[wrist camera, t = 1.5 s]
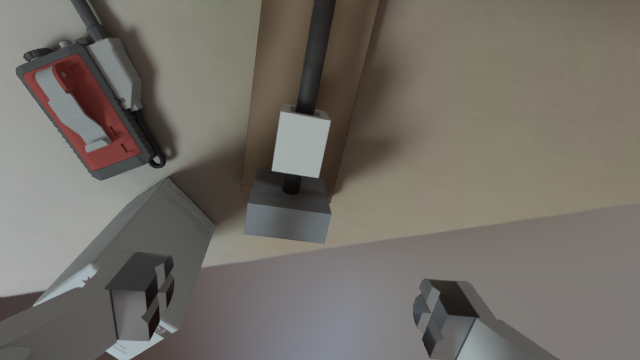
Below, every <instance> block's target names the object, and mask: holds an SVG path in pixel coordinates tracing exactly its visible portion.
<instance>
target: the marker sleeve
mask: <svg viewBox="0 0 640 360" xmlns="http://www.w3.org/2000/svg"><path fill="white" fill-rule="evenodd" d="M295 111H296V105H291V104H285V103H282V107H281V112H280V118H279V125H278V132H277V138H276V145H275V151H274V158H273V165H272V171H276V172H282V173H289V174H295V175H302V176H308V177H314V178H319V173H320V169H321V164H322V160H323V155H324V150H325V146H326V141H327V137H328V132H329V127H330V123H331V120H330V118H329V116H328V114H327V112H326V111H322V110H317V109H315V113H314V116H312V115H307V114H302V113H296V112H295Z"/></svg>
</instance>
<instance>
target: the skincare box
mask: <svg viewBox="0 0 640 360" xmlns="http://www.w3.org/2000/svg"><path fill="white" fill-rule="evenodd" d="M214 229H215V225H214V224H213V223H212V222H211V221H210V220H209V219H208V218H207V216H206V215H205V214H204V213H203V212H202V211H201V210H200V209H199V208H198V207H197V206H196V205H195V204H194V203H193V202H192V201H191V200H190V199H189V198H188V197H187V196H186V195H185V194H184V193H183V192H182V191H181V190H180V189H179V188H178V187H177V186H176V185H175V184H174V183H173V182H172V181H171V180H170V179H169V178H168V177H167V178H165V179H163V180H162V181H160V182H159V183H157V184H156V185H154V186H153V187H151V188H150V189H149V190H147V191H146V192H144V193H143V194H141V195H140V196H138V197H137V198H135V199H134V200H132V201H131V202H129V203H128V204H127V205H126V206H125V207H124V208H123V209H122V210H121V211H120V212H119V213H118V215H117V216H116V217H115V218H114V219H113V220H112V221H111V222H110V223H109V224H108V225H107V226H106V227H105V228H104V230H103V231H102V232H101V233H100V234H99V235H98V236H97V237H96V238H95V239H94V240H93V241H92V242H91V243H90V244H89V245H88V247H87V248H86V249H85V250H84V251H83V252H82V253H81V254H80V255H79V256H78V257H77V258H76V259H75V260H74V261H73V262H72V264H71V265H70V266H69V267H68V268H67V269H66V270H65V271H64V272H63V273H62V274H61V275H60V276H59V277H58V278H57V280H56V281H55V282H54V283H53V284H52V285H51V286H50V287H49V288H48V289H47V290H46V291H45V292H44V294H43V295H42V296H41V297H40V298H39V299H38V300H37V301H36V302H35V303H34V305H33V307H34V306H36V305H38V304H40V303H43V302H45V301H47V300H49V299H51V298H54V297H56V296H58V295H60V294H62V293H65V292H67V291H69V290H71V289H73V288H76V287H83V286H84V285H85V284H86V283H87V282H88V281H89V280H90V279H91V278H92V277H93V276H94V275H95V273H96V272H97V271H98V270H99V269H100V268H101V267H102V266H103V265H104V264H105V263H106V262H107V261H108V260H109V259H110V258H111V256H112V255H113V254H114V253H115V252H117V251H120V250H125V251H134V252H145V253H154V254H163V255H171V256H172V257H173V262H174V267H173V269H172V270H171V272H170V273H171V275H172V276H173V277H174V292H173V295H172V298H171V302H170V304H169V306H168V308H167V309H166V310H165V311H163V312H162V313H160V323H159V325H158V326H157V328H156V330H155V332H154V334H153V336H152V338H151V339H150V341H124V340H117V342H116V343H115V344H114V345H113V346H111V347H110V348H109V349H107V350H106V351H107V352H108V353H110V354H111V355H113V356H114V357H116V358H117V359H119V360H129V359H131V358H133V357H134V356H136V355H138V354H139V353H141V352H143V351H144V350H146V349H147V348H149V347H151V346H152V345H154V344H155V343H157V342H159V341H160V340H162V339H164V338H165V337H167V336H168V335H170V334H172V333H173V332H175V331H177V330H179V328H180V325H181V322H182V319H183V316H184V313H185V311H186V308H187V305H188V302H189V299H190V296H191V293H192V290H193V288H194V285H195V282H196V279H197V277H198V274H199V271H200V268H201V265H202V263H203V260H204V257H205V254H206V251H207V248H208V246H209V243H210V240H211V237H212V234H213V231H214Z"/></svg>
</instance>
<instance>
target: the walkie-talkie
mask: <svg viewBox="0 0 640 360" xmlns="http://www.w3.org/2000/svg"><path fill="white" fill-rule="evenodd" d="M71 2H72V3H73V5H74V7H75V8H76V10H77V12H78V13H79V15H80V17H81V18H82V20H83V22H84V23H85V25H86V27H87V31H88V33H89V34H90V36H91V38H92V39H93V41H94V42H95V43H94V44H91V43H90V42H88V41H87V40H86V38H79V39H77V40H75V41H76V43H77V44H73V45H72V44H71V42H70V41H69V40H67V41H62V42H60V43H59V45H60V46H61V48H60V49H59V50H57V51H54V52H52V50H51V49H49V48H41V49H36V50H32V51H29V52H27V53H25V54H24V55H23V58H24V59H25V60H26V61H28V62H27V63H25V64H22V65H20V66H18V67H17V68H16V75H17V76H18V77H19V79H20V80H21V81H22V83H23V84H24V85H25V87H26V88H27V89H28V91H29V92H30V93H31V95H32V96H33V98H34V99H35V100H36V102H37V103H38V104H39V106H40V107H41V108H42V110H43V111H44V112H45V114H46V115H47V116H48V118H49V119H50V121H52V122H53V124H54V126H55V127H56V128H57V129H58V131H59V132H60V133H61V134H62V137H63V138H65V140H66V142H67V143H68V144H69V145H70V148H72V149H73V152H74V153H76V155H77V157H78V158H79V159H80V160H81V162H82V163H83V164H84V166H85V168H87V170H88V172H89V173H90V174H91V175H92V177H94V178H96V179H98V180H100V181H101V180H105V179H107V178H110V177H113V176H115V175H118V174H121V173H123V172H126V171H129V170H131V169H134V168H137V167H139V166H142V165H144V164H147V163H149V165H150V166H152V167H153V168H162V167H163V166H164V165H165V164H166V159H165V156H164V154H163V152H162V151H161V149H160V147H159V146H158V144H157V142H156V141H155V139H154V137H153V136H152V134H151V133H150V131H149V129H148V128H147V126H146V124H145V122H144V120H143V115H142V111H141V108H143V106H142V104H141V103H140V101H141V89H142V80H141V78H140V77H139V75H138V73H137V71H136V70H135V68H134V66H133V64H132V63H131V61H130V59H129V57H128V56H127V54H126V52H125V50H124V45H123V44H122V42H121V40H120V39H119V38H110V37H109V35H108V34H107V32H106V30H105V29H104V27H103V25H101V24H99V22H98V20H97V18H96V17H95V15H94V13H93V12H92V10H91V8H90V6H89V5H88V3H87V1H86V0H71ZM157 155H158V157H159V158H160V164H157V163H156V162H155V161H154V160H153V158H155V157H156V156H157Z"/></svg>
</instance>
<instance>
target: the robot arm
mask: <svg viewBox="0 0 640 360" xmlns="http://www.w3.org/2000/svg"><path fill="white" fill-rule="evenodd" d="M173 267H174V262H173V257H172V256H171V255H163V254H154V253H145V252H134V251H125V250H120V251H117V252H115V253H114V254H113V255H112V256H111V258H110V259H109V260H108V261H107V262H106V263H105V264H104V265H103V266H102V267H101V268H100V269H99V270H98V271H97V272H96V273H95V275H94V276H93V277H92V278H91V279H90V280H89V281H88V282H87V283H86V284H85V285H84V286H83V287H76V288H73V289H71V290H69V291H67V292H65V293H62V294H60V295H58V296H56V297H54V298H51V299H49V300H47V301H45V302H43V303H40V304H38V305H36V306H34V307H32V308H29V309H27V310H25V311H23V312H21V313H19V314H16V315H14V316H12V317H10V318H8V319H5V320H3V321H1V322H0V360H95V359H96V358H97V357H98V356H100V355H101V354H102V353H104V352H105V351H106V350H107V349H109V348H110V347H111V346H113V345H114V344H115V343H116V342H117V340H124V341H150V339H151V338H152V336H153V334H154V332H155V330H156V328H157V326H158V325H159V323H160V313H162V312H163V311H165V310H166V309H167V308H168V306H169V304H170V302H171V298H172V295H173V292H174V277H173V276H172V275H171V273H170V272H171V270H172V269H173ZM419 288H420V290H421V292H422V293H421V294H420V295H419V296H418V297H416V298H415V301H414V305H413V316H414V321H415V324H416V326H417V328H418V329H419V330H420V331H421V332H423V333H424V335H423V338H422V341H423V343H424V346H425V348H426V351H427V353H428V355H429V358H430V359H442V360H559V359H558V358H556V357H555V356H553V355H552V354H550V353H549V352H548V351H546V350H545V349H543V348H542V347H540V346H539V345H537V344H536V343H534V342H533V341H531V340H530V339H529V338H527V337H526V336H524V335H523V334H521V333H520V332H518V331H517V330H515V329H514V328H512V327H511V326H510V325H508V324H507V323H505V322H504V321H502V320H497V319H496V318H495V316H494V315H493V313H492V312H491V311H490V309H489V308H488V307H487V305H486V304H485V302H484V301H483V300H482V298H481V297H480V296H479V294H478V293H477V291H476V290H475V289H474V287H473V286H472V285H471V284H470V283H469V282H467V281H447V280H436V279H424V280H423V281H422V282H421V284H420V287H419Z"/></svg>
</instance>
